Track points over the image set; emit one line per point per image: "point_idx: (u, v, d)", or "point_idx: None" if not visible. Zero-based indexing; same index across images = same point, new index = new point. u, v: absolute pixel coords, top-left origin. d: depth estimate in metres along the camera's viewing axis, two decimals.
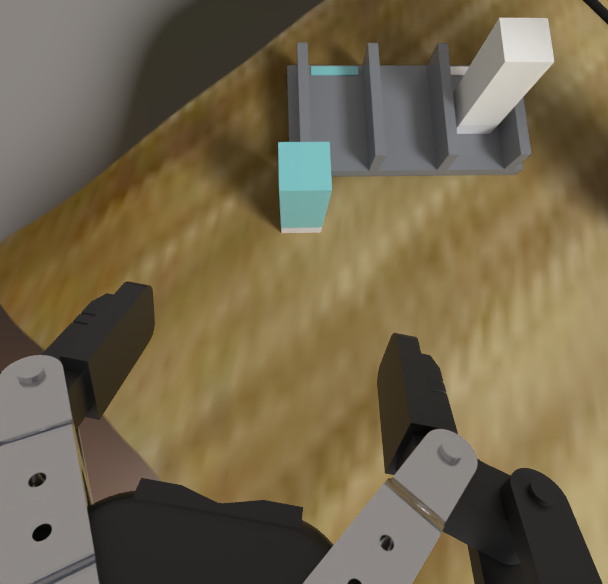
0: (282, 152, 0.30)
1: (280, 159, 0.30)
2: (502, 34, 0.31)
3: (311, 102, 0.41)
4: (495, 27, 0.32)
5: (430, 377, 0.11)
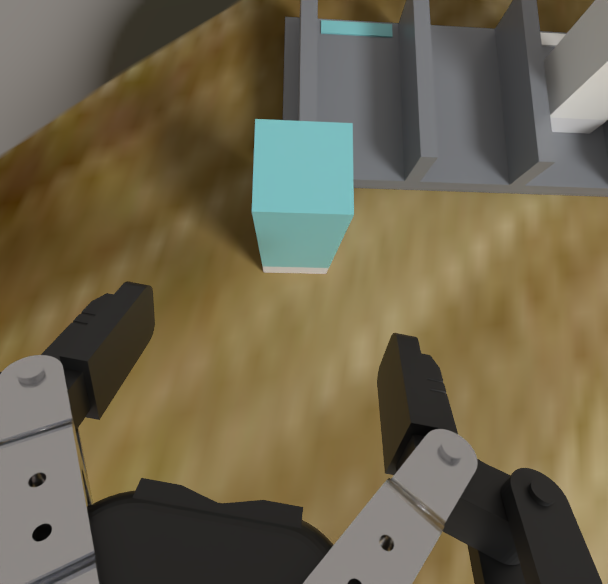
0: (262, 139, 0.16)
1: (257, 151, 0.16)
2: None
3: (319, 73, 0.27)
4: None
5: (430, 377, 0.11)
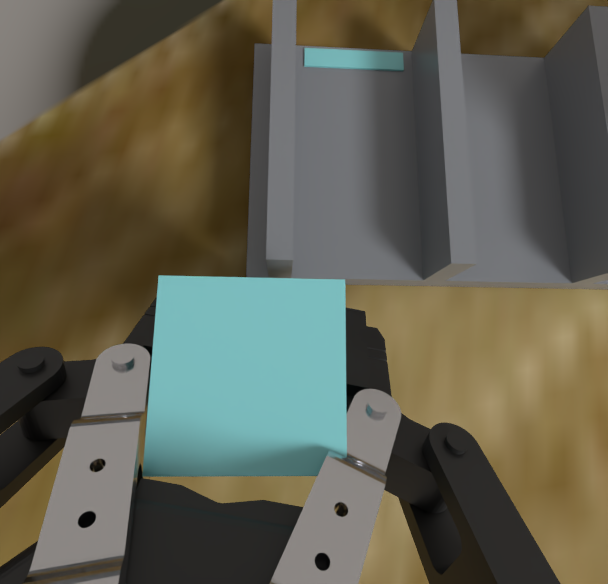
0: (170, 317, 0.08)
1: (160, 343, 0.08)
2: None
3: (302, 123, 0.19)
4: None
5: (374, 347, 0.12)
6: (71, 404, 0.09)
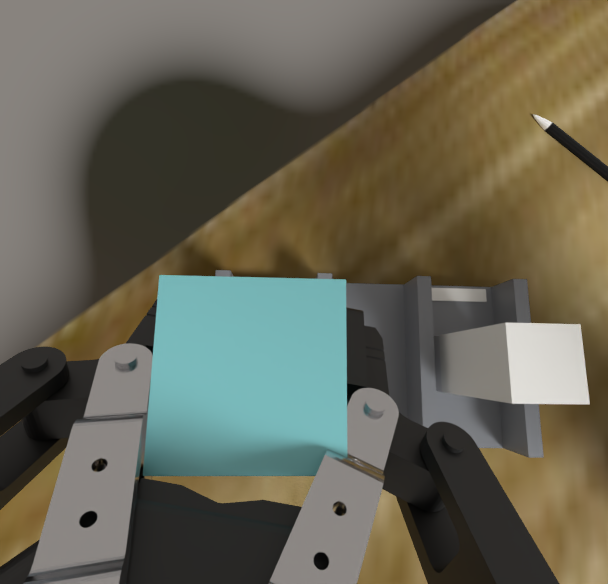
0: (170, 317, 0.08)
1: (161, 343, 0.08)
2: (509, 353, 0.20)
3: None
4: (498, 329, 0.21)
5: (372, 346, 0.12)
6: (74, 404, 0.09)
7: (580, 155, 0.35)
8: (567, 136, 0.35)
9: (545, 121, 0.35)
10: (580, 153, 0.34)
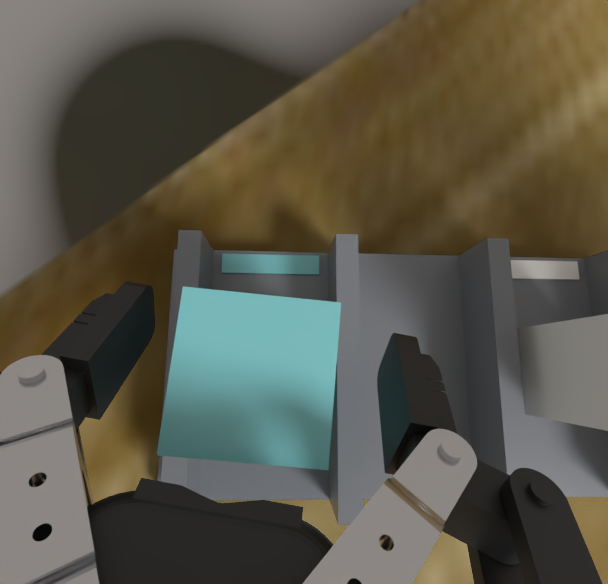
0: (189, 323, 0.10)
1: (180, 344, 0.10)
2: None
3: None
4: None
5: (430, 377, 0.11)
6: None
7: None
8: None
9: None
10: None
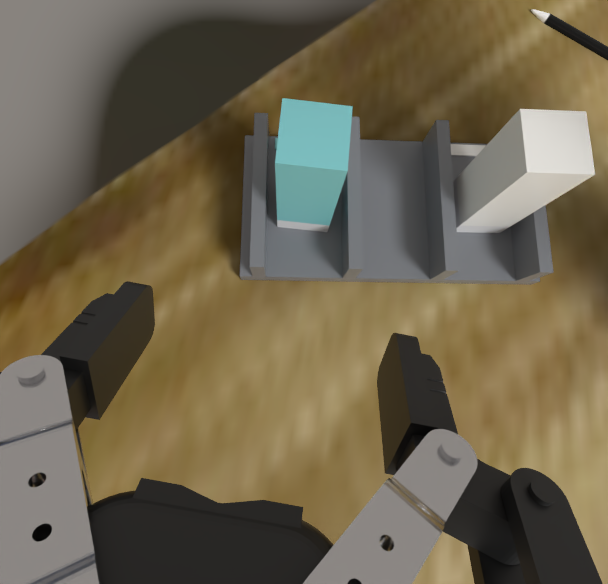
0: (286, 113, 0.22)
1: (282, 121, 0.22)
2: (523, 133, 0.22)
3: (273, 185, 0.32)
4: (514, 119, 0.23)
5: (430, 377, 0.11)
6: None
7: (580, 40, 0.37)
8: (566, 24, 0.37)
9: (543, 13, 0.37)
10: (580, 37, 0.37)
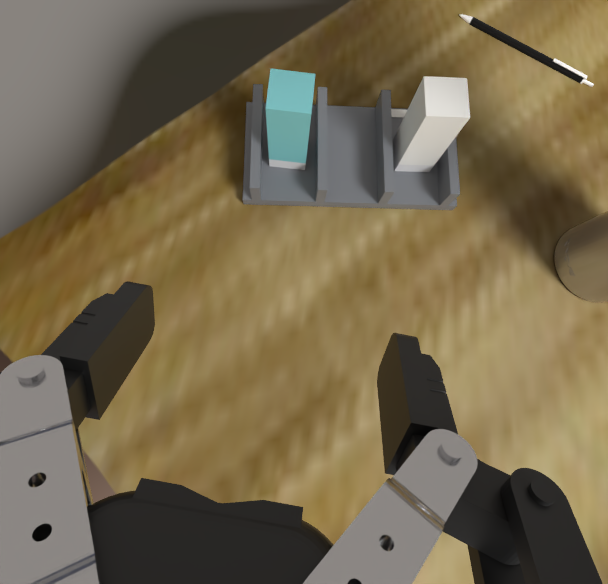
0: (273, 77, 0.35)
1: (270, 83, 0.34)
2: (425, 91, 0.35)
3: (266, 137, 0.44)
4: (421, 83, 0.36)
5: (430, 377, 0.11)
6: None
7: (496, 35, 0.50)
8: (485, 24, 0.50)
9: (468, 17, 0.50)
10: (496, 34, 0.50)
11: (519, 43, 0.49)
